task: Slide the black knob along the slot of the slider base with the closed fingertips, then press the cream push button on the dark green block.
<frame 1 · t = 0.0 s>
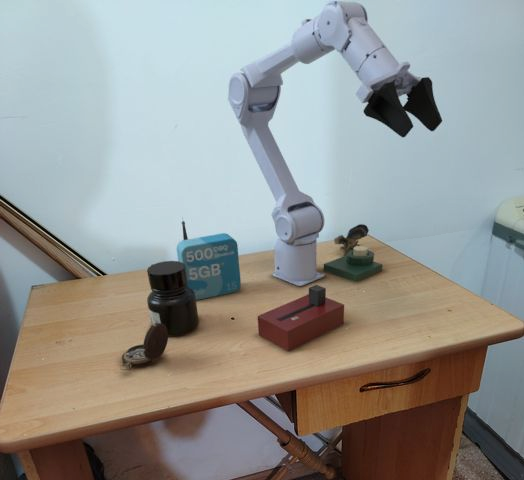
hand: (422, 129, 72), 32 cm above the table, tool tilted 50°, fingers open, 7 cm apart
data package: (212, 293, 103), on the table
button block: (352, 270, 109), on the table
slider knob: (317, 295, 86), point 6 cm above the table, slide at 0.0 cm
start button: (360, 251, 109), point 4 cm above the table, slide at 0.1 cm
ink bottle: (176, 327, 90), on the table
compass: (141, 363, 80), on the table
eiffel tower figurine: (189, 273, 114), on the table
eagle figurine: (351, 252, 121), on the table
slider base: (301, 329, 86), on the table
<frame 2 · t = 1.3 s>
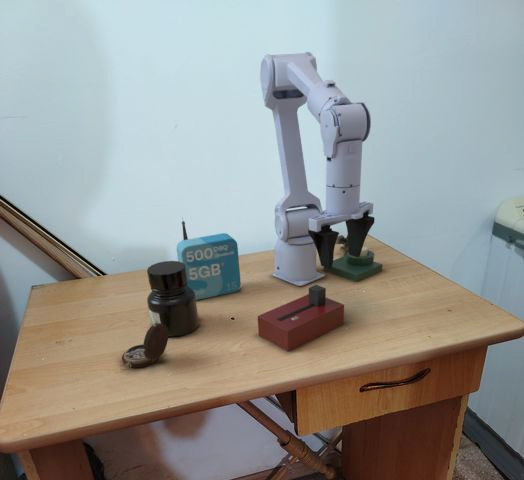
hand: (340, 261, 86), 10 cm above the table, tool pointing down, fingers open, 7 cm apart
nothing on the table moved.
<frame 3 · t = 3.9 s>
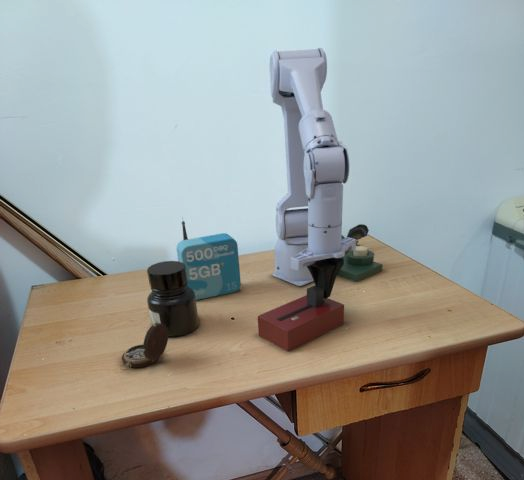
hand: (323, 296, 87), 5 cm above the table, tool pointing down, fingers closed
slider knob: (315, 296, 85), point 6 cm above the table, slide at 0.5 cm, touching gripper
everything else where it was.
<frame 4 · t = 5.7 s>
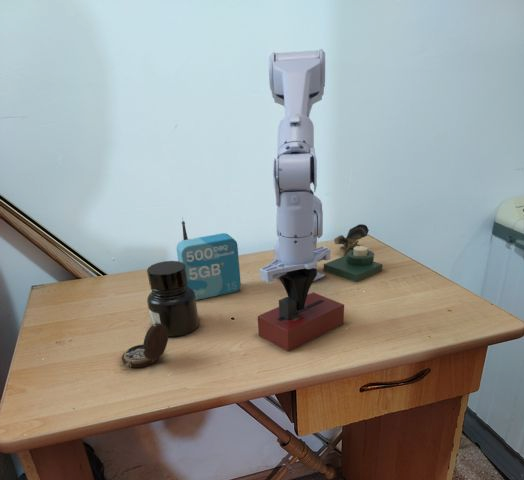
hand: (297, 307, 83), 5 cm above the table, tool pointing down, fingers closed
slider knob: (287, 308, 82), point 6 cm above the table, slide at 7.3 cm, touching gripper
everything else where it was.
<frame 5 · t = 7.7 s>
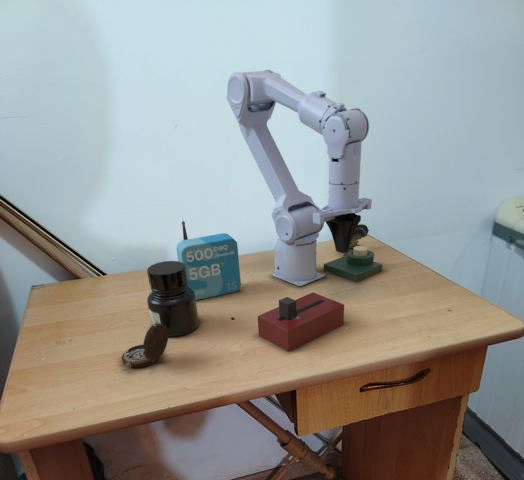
hand: (341, 251, 95), 9 cm above the table, tool pointing down, fingers closed
slider knob: (287, 308, 82), point 6 cm above the table, slide at 7.3 cm
everything else where it was.
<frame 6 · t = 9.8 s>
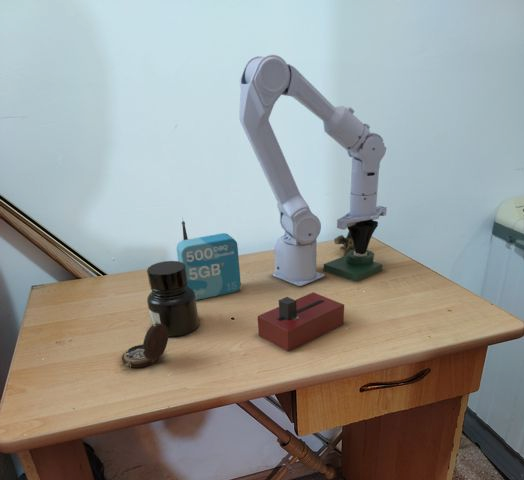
hand: (360, 252, 109), 4 cm above the table, tool pointing down, fingers closed, pressing on start button
start button: (360, 256, 109), point 3 cm above the table, slide at -1.0 cm, touching gripper
everything else where it was.
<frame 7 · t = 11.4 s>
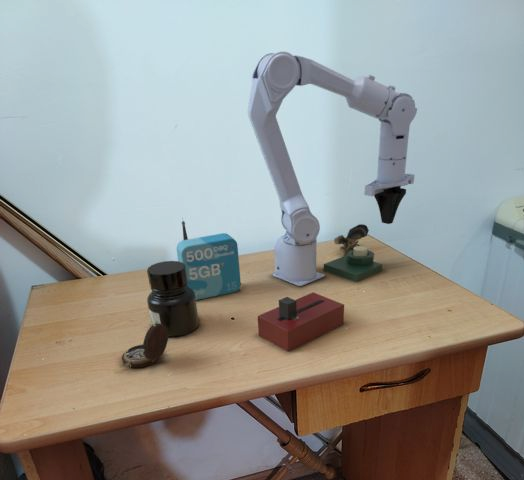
hand: (387, 222, 105), 10 cm above the table, tool pointing down, fingers closed
start button: (360, 251, 109), point 4 cm above the table, slide at 0.1 cm
everything else where it was.
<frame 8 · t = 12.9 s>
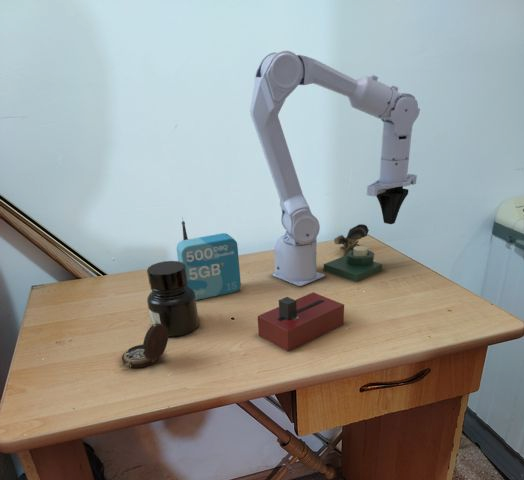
hand: (389, 222, 105), 10 cm above the table, tool pointing down, fingers closed
nothing on the table moved.
at the end: slider knob slide at 7.3 cm; start button pushed in 1.2 cm at the most during the clip, back to where it started at the end; start button slide at 0.1 cm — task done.
